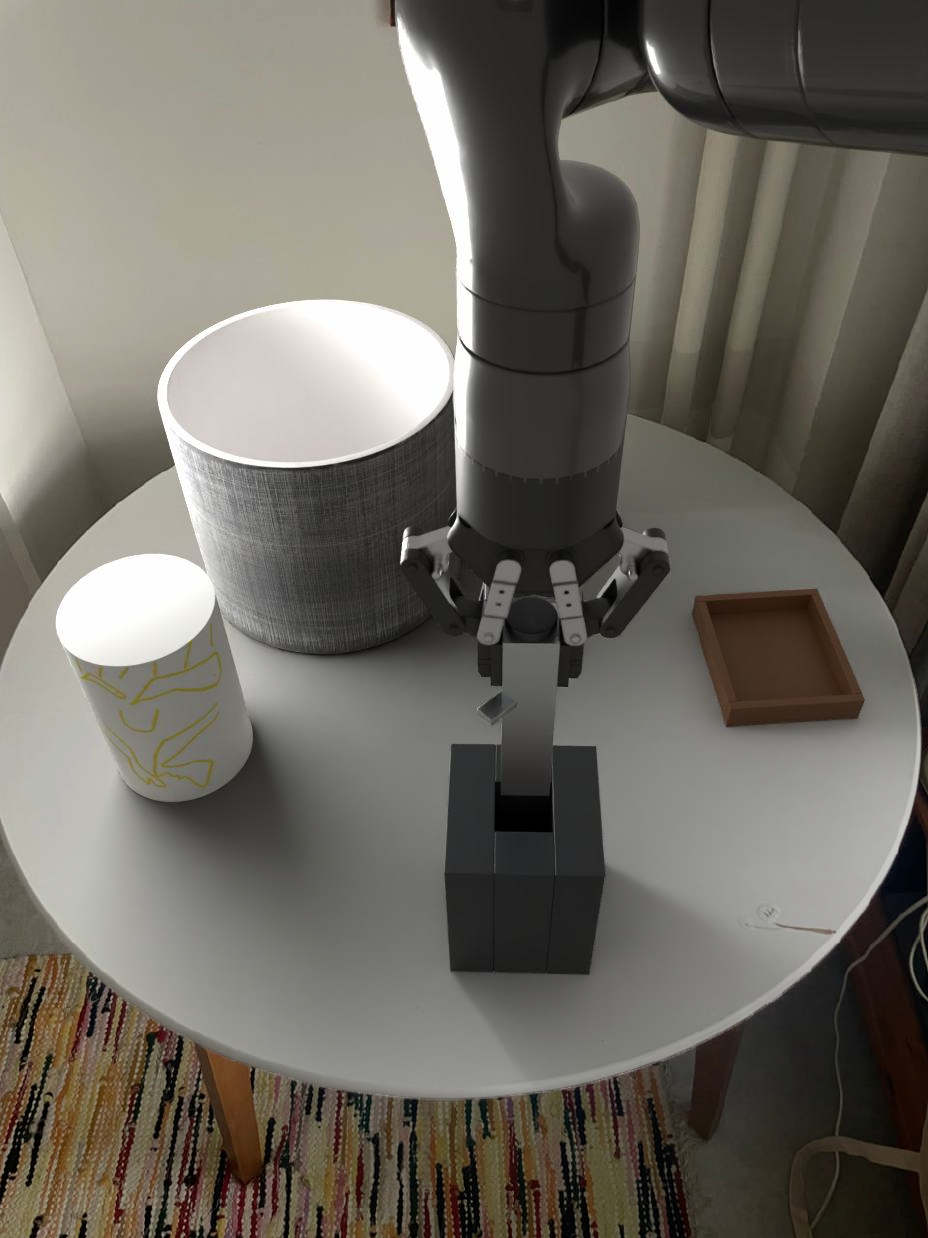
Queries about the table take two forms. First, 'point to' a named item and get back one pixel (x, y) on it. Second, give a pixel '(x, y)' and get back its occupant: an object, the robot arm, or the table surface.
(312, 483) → the planter
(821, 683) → the tray
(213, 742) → the white patterned cylinder
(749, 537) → the table surface
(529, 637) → the grey square bar
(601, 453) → the robot arm
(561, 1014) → the table surface
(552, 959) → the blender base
